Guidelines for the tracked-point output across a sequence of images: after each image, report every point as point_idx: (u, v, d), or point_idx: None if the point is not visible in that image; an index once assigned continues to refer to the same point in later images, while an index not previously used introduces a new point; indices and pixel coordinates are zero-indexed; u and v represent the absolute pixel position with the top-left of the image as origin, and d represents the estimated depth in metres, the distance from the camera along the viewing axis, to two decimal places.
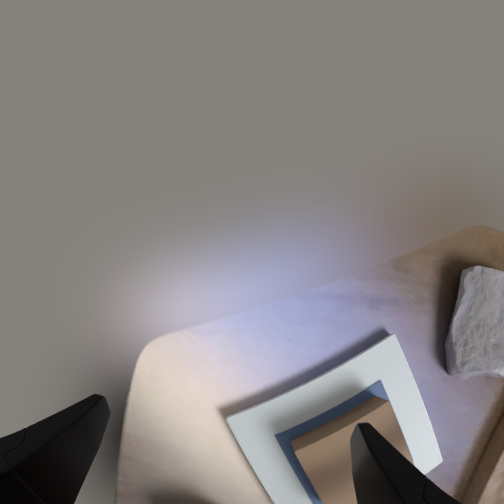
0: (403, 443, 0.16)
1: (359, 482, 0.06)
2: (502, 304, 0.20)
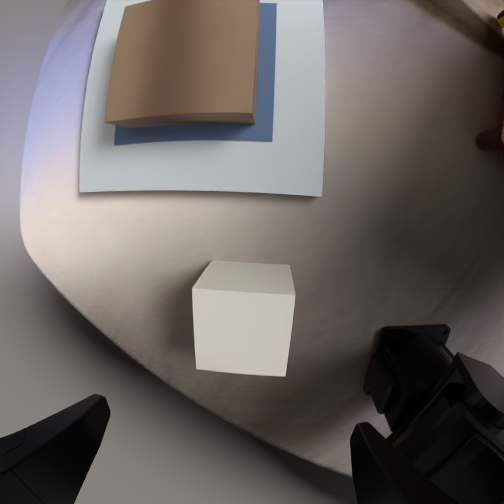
0: None
1: (359, 482, 0.06)
2: None
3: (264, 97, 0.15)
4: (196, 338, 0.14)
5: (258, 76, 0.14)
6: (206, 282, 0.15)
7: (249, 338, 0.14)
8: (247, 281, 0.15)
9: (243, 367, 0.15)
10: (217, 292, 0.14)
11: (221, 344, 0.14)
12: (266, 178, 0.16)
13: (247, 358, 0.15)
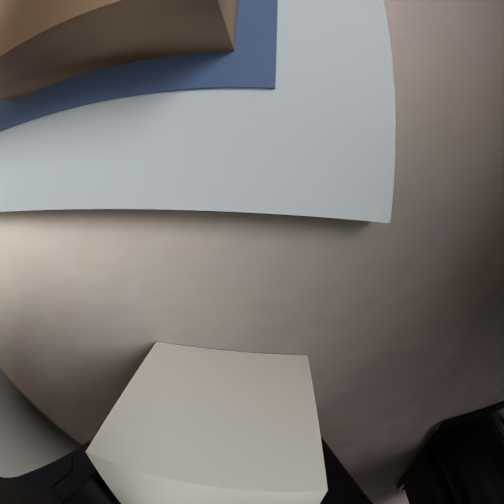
0: None
1: None
2: None
3: (255, 2, 0.05)
4: None
5: None
6: (120, 432, 0.05)
7: None
8: (215, 432, 0.05)
9: None
10: (137, 472, 0.04)
11: None
12: (261, 177, 0.06)
13: None
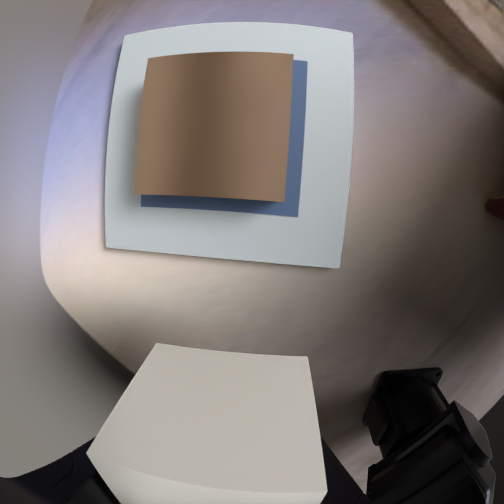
0: (225, 55, 0.12)
1: None
2: None
3: (292, 170, 0.16)
4: None
5: None
6: (120, 433, 0.05)
7: None
8: (215, 433, 0.05)
9: None
10: (138, 474, 0.04)
11: None
12: (290, 251, 0.18)
13: None
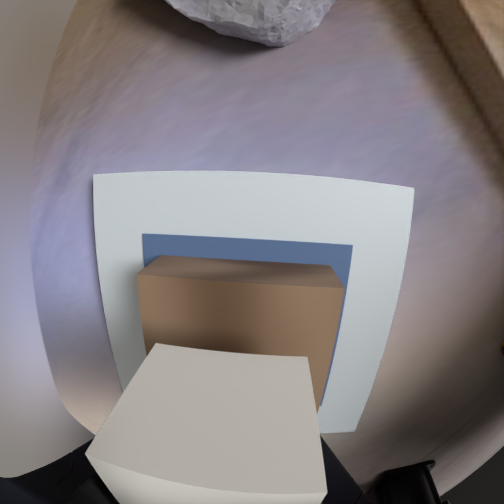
0: (248, 288, 0.10)
1: None
2: None
3: None
4: None
5: None
6: (119, 434, 0.05)
7: None
8: (214, 433, 0.05)
9: None
10: (137, 474, 0.04)
11: None
12: None
13: None
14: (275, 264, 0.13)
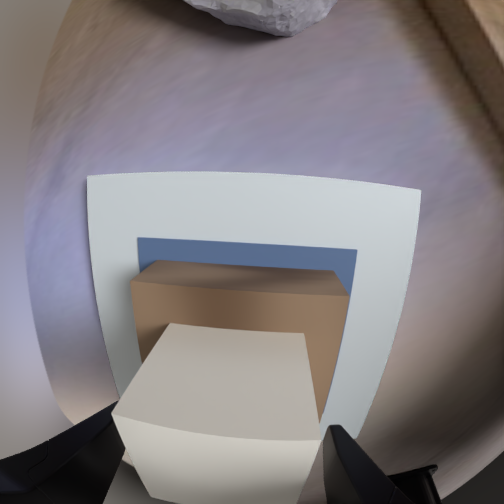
0: (248, 297, 0.10)
1: (329, 485, 0.06)
2: None
3: None
4: (140, 471, 0.06)
5: None
6: (142, 396, 0.06)
7: (230, 485, 0.06)
8: (224, 393, 0.07)
9: None
10: (158, 428, 0.05)
11: (181, 484, 0.06)
12: None
13: (228, 500, 0.06)
14: (276, 270, 0.12)
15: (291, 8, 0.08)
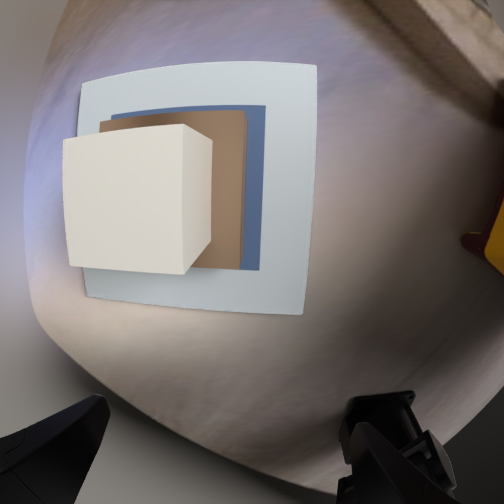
0: (173, 116, 0.13)
1: (359, 482, 0.06)
2: None
3: (251, 226, 0.17)
4: (66, 213, 0.09)
5: (245, 204, 0.17)
6: None
7: (125, 203, 0.09)
8: None
9: (122, 258, 0.10)
10: (87, 138, 0.08)
11: (92, 218, 0.09)
12: (254, 301, 0.18)
13: (125, 241, 0.09)
14: None
15: None
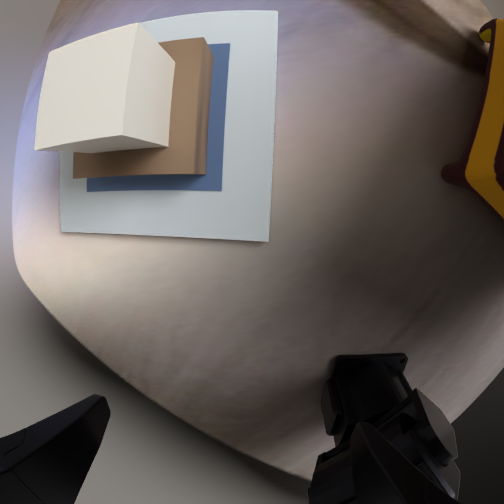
0: None
1: (359, 482, 0.06)
2: None
3: (214, 146, 0.17)
4: (40, 105, 0.09)
5: (209, 126, 0.16)
6: None
7: (85, 85, 0.09)
8: None
9: (76, 131, 0.09)
10: (67, 46, 0.08)
11: (59, 103, 0.09)
12: (217, 225, 0.18)
13: (80, 115, 0.09)
14: None
15: None
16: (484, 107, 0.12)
